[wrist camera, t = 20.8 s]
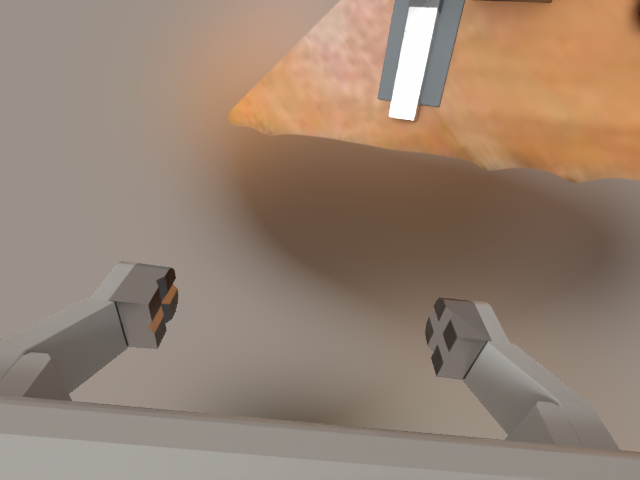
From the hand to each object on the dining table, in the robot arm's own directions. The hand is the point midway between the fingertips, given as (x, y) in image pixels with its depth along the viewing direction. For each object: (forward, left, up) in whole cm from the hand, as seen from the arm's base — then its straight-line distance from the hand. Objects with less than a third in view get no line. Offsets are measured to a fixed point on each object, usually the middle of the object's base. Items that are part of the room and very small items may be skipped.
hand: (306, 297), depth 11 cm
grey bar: (+8, -14, -53) cm, 55 cm away
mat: (+8, -16, -53) cm, 56 cm away
